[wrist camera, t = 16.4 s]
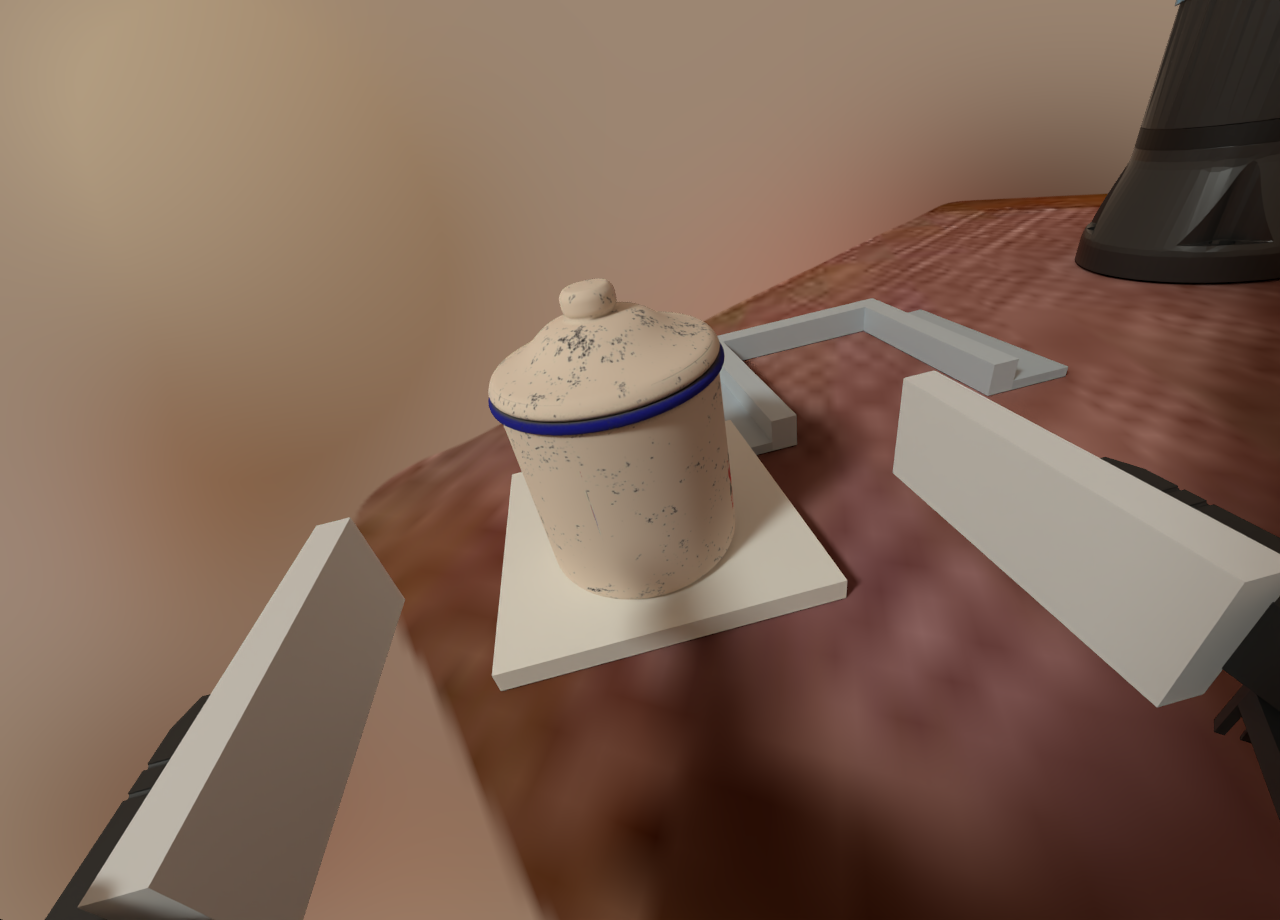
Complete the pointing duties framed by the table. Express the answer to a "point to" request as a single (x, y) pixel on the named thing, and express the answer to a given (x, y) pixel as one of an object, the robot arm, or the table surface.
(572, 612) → the mat
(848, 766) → the table surface
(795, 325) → the cradle
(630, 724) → the table surface
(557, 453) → the teacup with lid
